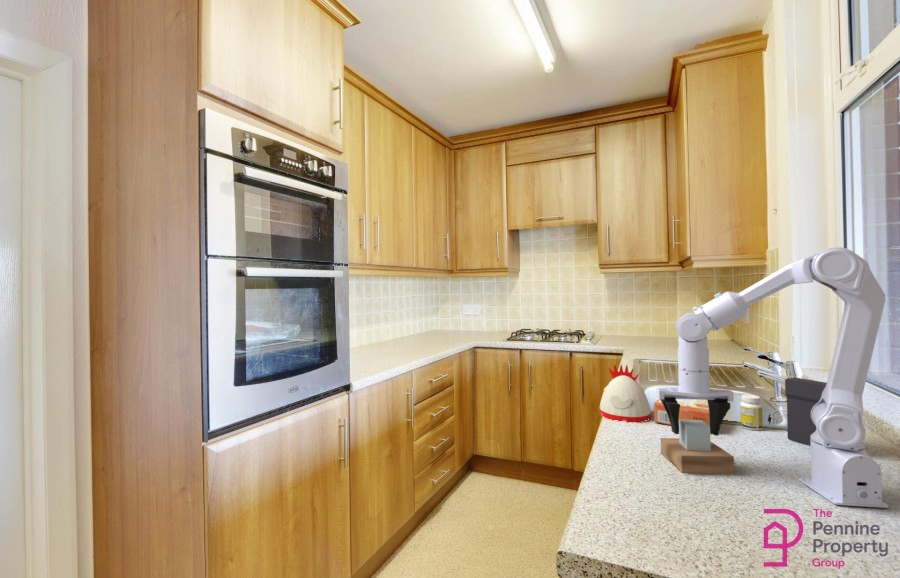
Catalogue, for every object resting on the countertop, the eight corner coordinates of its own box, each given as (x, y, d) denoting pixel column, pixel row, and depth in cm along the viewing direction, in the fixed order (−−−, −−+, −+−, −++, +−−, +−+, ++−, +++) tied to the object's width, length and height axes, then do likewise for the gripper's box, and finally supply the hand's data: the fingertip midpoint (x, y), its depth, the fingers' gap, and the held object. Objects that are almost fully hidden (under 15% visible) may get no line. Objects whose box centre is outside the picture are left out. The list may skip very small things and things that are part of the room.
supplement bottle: (755, 425, 112) (754, 394, 112) (767, 431, 108) (766, 398, 108) (736, 424, 113) (736, 394, 113) (747, 430, 108) (746, 398, 108)
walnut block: (734, 476, 83) (733, 456, 83) (682, 475, 84) (681, 455, 84) (707, 456, 93) (706, 438, 93) (660, 455, 94) (660, 438, 94)
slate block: (710, 451, 86) (710, 426, 86) (687, 450, 87) (686, 426, 87) (701, 443, 90) (701, 420, 90) (679, 442, 91) (678, 419, 91)
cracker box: (711, 435, 106) (727, 415, 121) (711, 412, 106) (727, 394, 121) (653, 423, 115) (674, 406, 131) (652, 401, 115) (674, 387, 131)
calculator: (852, 453, 93) (851, 385, 93) (841, 456, 91) (840, 387, 91) (796, 437, 103) (795, 376, 103) (785, 439, 101) (784, 378, 101)
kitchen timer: (604, 406, 132) (604, 359, 132) (652, 412, 125) (651, 362, 125) (595, 418, 120) (594, 366, 121) (647, 425, 113) (647, 370, 113)
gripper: (721, 366, 91) (722, 428, 91) (651, 365, 94) (652, 425, 94) (738, 372, 84) (739, 439, 84) (662, 371, 87) (663, 436, 87)
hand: (694, 433), depth 88 cm, fingers open, 7 cm apart
